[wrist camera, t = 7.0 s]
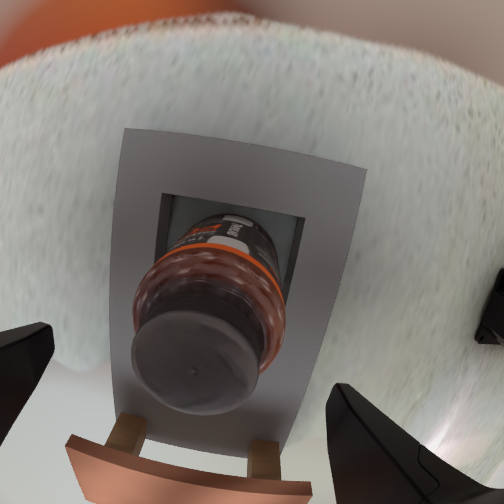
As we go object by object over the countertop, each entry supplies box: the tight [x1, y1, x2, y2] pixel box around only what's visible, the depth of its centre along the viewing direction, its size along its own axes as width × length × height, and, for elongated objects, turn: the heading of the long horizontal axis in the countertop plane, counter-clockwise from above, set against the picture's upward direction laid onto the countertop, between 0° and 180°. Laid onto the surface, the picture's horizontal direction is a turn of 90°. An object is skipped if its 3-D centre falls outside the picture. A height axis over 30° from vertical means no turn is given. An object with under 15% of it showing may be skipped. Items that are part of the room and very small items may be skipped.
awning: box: [65, 412, 312, 504], centre depth 17 cm, size 13×6×8 cm, turn 80°
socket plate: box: [109, 128, 367, 458], centre depth 20 cm, size 13×22×2 cm, turn 170°
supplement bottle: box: [131, 214, 286, 415], centre depth 14 cm, size 6×6×11 cm
